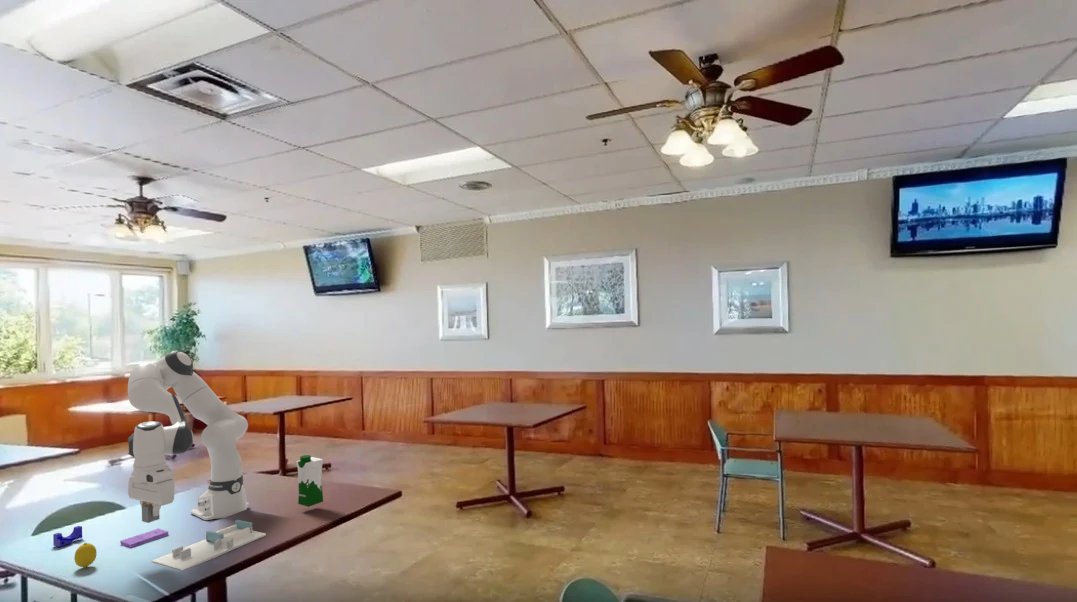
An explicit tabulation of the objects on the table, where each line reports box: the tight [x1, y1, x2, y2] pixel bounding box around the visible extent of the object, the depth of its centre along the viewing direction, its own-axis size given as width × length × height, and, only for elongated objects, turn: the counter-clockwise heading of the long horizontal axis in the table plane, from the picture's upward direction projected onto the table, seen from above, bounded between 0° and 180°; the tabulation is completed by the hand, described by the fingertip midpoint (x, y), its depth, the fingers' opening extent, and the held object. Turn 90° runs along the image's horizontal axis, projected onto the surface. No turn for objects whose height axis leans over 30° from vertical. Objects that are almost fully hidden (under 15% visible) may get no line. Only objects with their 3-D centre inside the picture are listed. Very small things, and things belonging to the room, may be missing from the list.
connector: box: [141, 502, 161, 524], centre depth 185 cm, size 4×4×6 cm
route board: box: [151, 530, 267, 571], centre depth 193 cm, size 16×30×3 cm, turn 154°
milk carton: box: [295, 454, 324, 508], centre depth 236 cm, size 9×9×20 cm
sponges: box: [119, 528, 169, 549], centre depth 202 cm, size 7×13×2 cm, turn 149°
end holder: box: [205, 519, 253, 545], centre depth 201 cm, size 8×12×3 cm, turn 154°
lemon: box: [73, 542, 97, 569], centre depth 180 cm, size 6×6×8 cm
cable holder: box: [52, 525, 83, 548], centre depth 202 cm, size 8×4×4 cm, turn 160°
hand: (151, 514), depth 185 cm, fingers closed on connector, 3 cm apart
